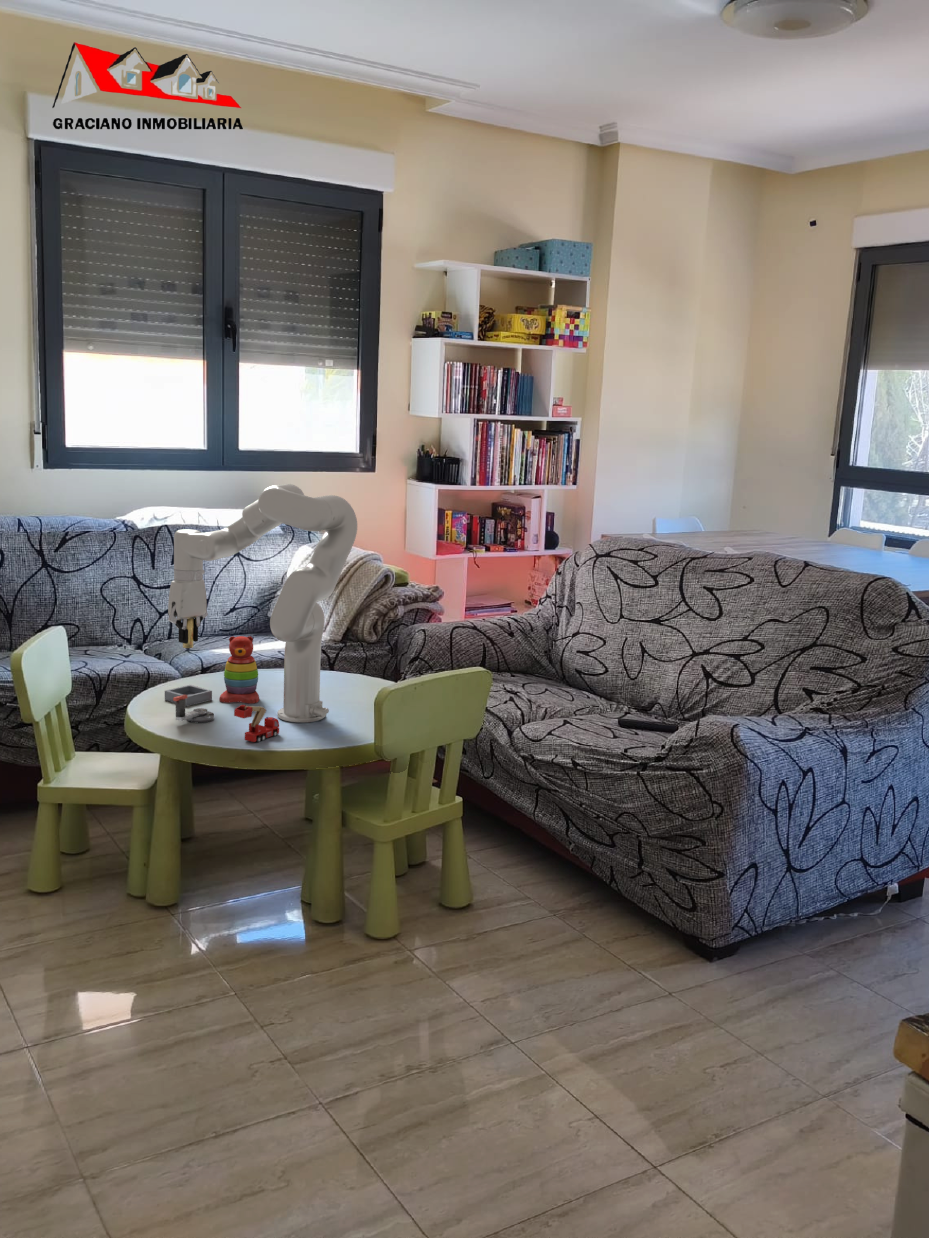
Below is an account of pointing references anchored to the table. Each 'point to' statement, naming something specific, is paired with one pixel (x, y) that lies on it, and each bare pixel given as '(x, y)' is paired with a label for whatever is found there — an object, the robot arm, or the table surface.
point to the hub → (202, 718)
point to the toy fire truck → (257, 723)
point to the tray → (189, 694)
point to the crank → (181, 709)
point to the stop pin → (189, 633)
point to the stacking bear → (240, 672)
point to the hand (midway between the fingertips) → (188, 641)
